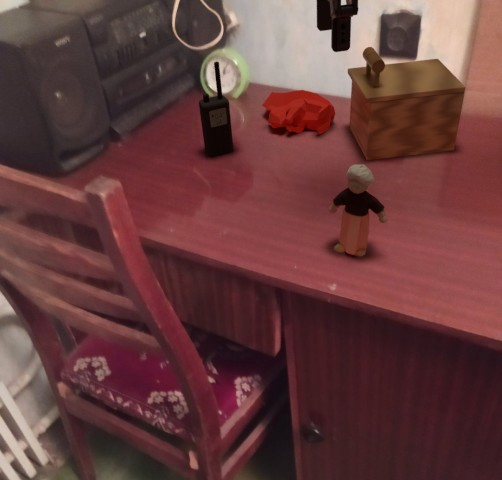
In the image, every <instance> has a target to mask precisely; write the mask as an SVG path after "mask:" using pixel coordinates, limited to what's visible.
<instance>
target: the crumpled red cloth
mask: <svg viewBox="0 0 502 480" xmlns="http://www.w3.org/2000/svg"><path fill="white" fill-rule="evenodd" d="M262 107H263V108H264V109H266V110H267V111H268V112H269V113H268V120H267V123H268V125H269V124H270V126H271V128H272V129H278V128H285V130H286V131H287V132H289V133H293V132H294V133H297V134H300V133H303V131H304V130H305V129H307V130H310V131H317V133H318V135H322V134H323V133H326V132H328V131H329V130H330V126H331V123H332V121H334V119H335V117H336V110H335V107H334V105H333V104H332V103H331V101H330V100H329V99H326V98H325V97H324V96H322V95H320V94H319V93H316V92H312V91H309V90H305V89H300V90H294V91H288V92H273V91H272V92H270V94H269V95H268V96H267V98H266V99H265V100H264V102H263V103H262Z"/></svg>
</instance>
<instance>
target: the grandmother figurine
mask: <svg viewBox="0 0 502 480" xmlns="http://www.w3.org/2000/svg"><path fill="white" fill-rule="evenodd" d="M346 178H347V186H348V187H346V188H344V189H343V190H342V191H341V192H339V193H338V194H337V195H336V196H335V197H334V198H333V199H332V202H331V204H330V205H329V207H328V208H329V209H328V212H329V213H331V214H335V213H336V212H337V211H338V209H339V208H340V206H344V208H343V210H342V214H341V221H340V229H339V237H338V243H337V244H335V245H334V247H333V250H334V251H336V252H338V253H347V254H349V255H352V256H355V257H363V256H365V255H366V252H367V247H368V246H367V245H368V239H369V235H370V211H371V212H373V213H374V214H375V215H376V216H377V217H378V221H379V223H381V224H385V223H387V222H388V218H387V215H386V211H385V208H386V207H385V205H384V204H383V203H382V202H381V200H379V199H378V198H377V197H376V196H374V195H373V194H371V193H370V192H369V191H367V189H369V187H370V186H372V185H373V183H374V181H376V179H375V177H374V175H373V172H372V171H371V169H369V168H368V167H367V165H365V164H362V163H361V164H358V163H356V164H355V163H354V164H352V165H350V166H349V167H348V169H347V172H346ZM369 210H370V211H369Z"/></svg>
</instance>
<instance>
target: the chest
mask: <svg viewBox="0 0 502 480" xmlns="http://www.w3.org/2000/svg"><path fill="white" fill-rule="evenodd" d="M350 87H351V88H350V89H351V90H350V108H349V109H350V110H349V112H350V113H349V129H350V131H351V133H352V135H353V137H354V139H355V141H356V143H357V144H358V146H359V148H360V150H361V152H362V154H363V156H364V157H365V160H366V161H372V160H373V161H374V160H383V159H389V158H399V157H406V156H415V155H423V154H431V153H433V154H434V153H440V152H451V151H454V150H455V146H456V142H457V141H456V140H457V136H458V131H459V125H460V119H461V113H462V109H463V103H464V98H465V92H459V93H450V94H442V95H433V96H424V97H415V98H406V99H397V100H389V101H380V102H371V103H366V102H365V100H364V99H363V97H362V95H361V94H360V92H359V91H358V89H357V87H356V86H355V84H354V83H353V81H352V80H351V86H350Z"/></svg>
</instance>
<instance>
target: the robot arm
mask: <svg viewBox="0 0 502 480" xmlns="http://www.w3.org/2000/svg"><path fill="white" fill-rule="evenodd" d="M358 13H359V0H345V4H342V0H316V29H317V30H318V31H320V32H326V31H331V35H330V36H331V38H330V40H331V43H330V44H331V45H330V46H331V47H330V48H331V50H332V52H334V53H340V52H347V51H349V50H350V49H351V37H352V35H351V33H352V18H353V17H354V16H358Z"/></svg>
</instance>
